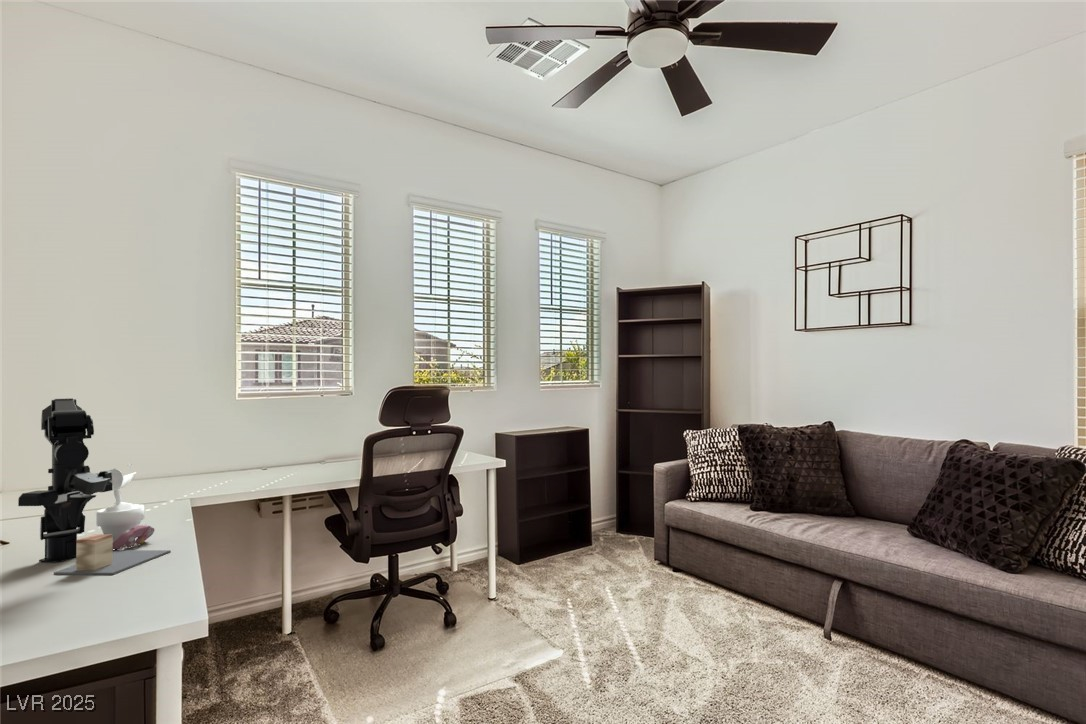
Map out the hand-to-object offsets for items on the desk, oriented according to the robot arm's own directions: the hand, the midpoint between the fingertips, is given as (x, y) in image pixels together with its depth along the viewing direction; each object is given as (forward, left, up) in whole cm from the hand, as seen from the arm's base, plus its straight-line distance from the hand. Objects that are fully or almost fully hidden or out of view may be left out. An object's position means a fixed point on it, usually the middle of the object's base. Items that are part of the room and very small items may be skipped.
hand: (68, 528), depth 131 cm
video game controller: (-7, +27, -12) cm, 31 cm away
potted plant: (-16, +32, -12) cm, 38 cm away
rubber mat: (+1, +12, -12) cm, 17 cm away
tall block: (0, +7, -12) cm, 14 cm away
